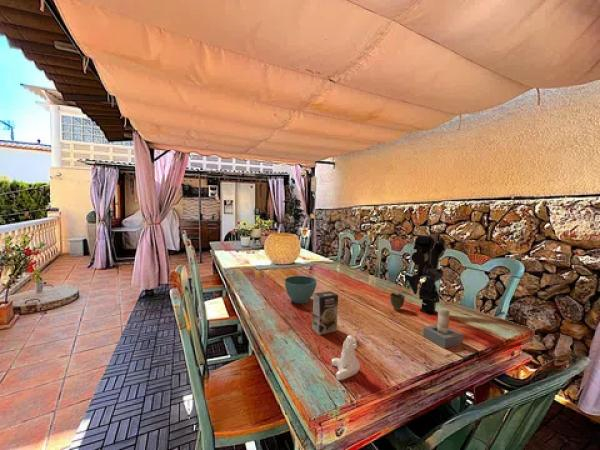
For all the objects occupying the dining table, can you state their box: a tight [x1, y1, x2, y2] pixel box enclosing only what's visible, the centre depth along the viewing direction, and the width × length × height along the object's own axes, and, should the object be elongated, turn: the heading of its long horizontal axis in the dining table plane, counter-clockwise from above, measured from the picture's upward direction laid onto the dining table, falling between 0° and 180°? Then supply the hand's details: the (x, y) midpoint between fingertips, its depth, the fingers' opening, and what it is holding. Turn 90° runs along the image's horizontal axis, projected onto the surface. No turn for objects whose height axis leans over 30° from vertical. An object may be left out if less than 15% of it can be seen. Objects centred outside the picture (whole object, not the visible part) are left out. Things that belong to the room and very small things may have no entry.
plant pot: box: [284, 275, 317, 304], centre depth 148 cm, size 18×18×12 cm
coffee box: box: [311, 291, 339, 336], centre depth 112 cm, size 9×6×16 cm
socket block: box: [422, 324, 464, 349], centre depth 106 cm, size 10×10×4 cm
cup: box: [389, 292, 406, 311], centre depth 138 cm, size 8×7×8 cm
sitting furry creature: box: [331, 334, 361, 381], centre depth 84 cm, size 10×9×12 cm
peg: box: [436, 308, 451, 335], centre depth 106 cm, size 4×4×12 cm
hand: (422, 293), depth 126 cm, fingers open, 9 cm apart
